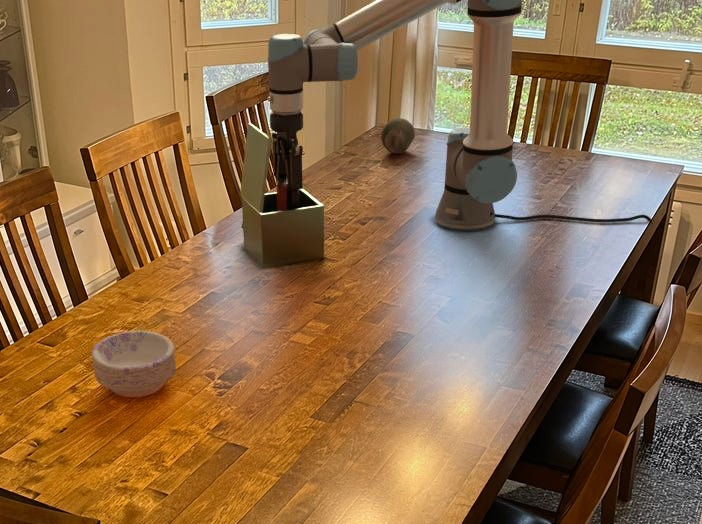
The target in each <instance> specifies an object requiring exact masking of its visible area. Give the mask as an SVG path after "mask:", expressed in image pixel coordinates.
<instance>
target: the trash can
mask: <svg viewBox="0 0 702 524" xmlns="http://www.w3.org/2000/svg"><path fill="white" fill-rule="evenodd" d="M241 213H242V222H243V229H242V231H243V233H242V234H243V249H244V250H245V251H246V252H247V253H248V254H249V255H250V257H251V258H252V259H253V260H254V261H255V262H256V263H257V264H258V265H259V266H260V267H261V268H262V269H268V268H275V267H280V266H287V265H292V264H298V263H299V264H300V263H305V262H310V261H316V260H323V259H325V205H324V204H323V203H322V202H320V201H319V200H317V199H316V197H314V196H312V195H311V194H310V193H309V192H308V191H306V190H305V189H304V188H302V189H300V190H299V208H297V209H291V210H284V211H277V191H275V192H267V193H265V196H264V204H263V212H262V213H259V212H258V211H257V210H256V209H255V208H254V207H252V206H251V205H250V204H249V203H248V202H247V201H246V200H245V199H244V198H243V197H242V196H241Z"/></svg>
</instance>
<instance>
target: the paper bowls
mask: <svg viewBox="0 0 702 524" xmlns="http://www.w3.org/2000/svg"><path fill="white" fill-rule="evenodd" d="M91 360H92V365H93V373H94V377H95V380H96V381H97V383H98V384H99V385H100V386H103V387H104V388H106V389H108V390H110V391H112V392H113V393H114V394H116V395H117V396H121V397H125V398H142V397H146V396H150V395H153V394H155V393H157V392H158V391H160V390H161V389H162V388H163V387H164V385H165V383H166V382H168V381H170V380H171V379H172V378H173V377H174V375H175V374H176V372H177V362H176V352H175V346H174V342H173V341H172V340H171V339H170V338H168V337H167V336H165V335H163V334H162V333H158V332H154V331H148V330H130V331H123V332H119V333H115V334H112V335H110V336H107V337H105V338H103V339H101V340H100V341H99V342H96V344H95V345H94V347H93V349H92V351H91Z"/></svg>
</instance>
